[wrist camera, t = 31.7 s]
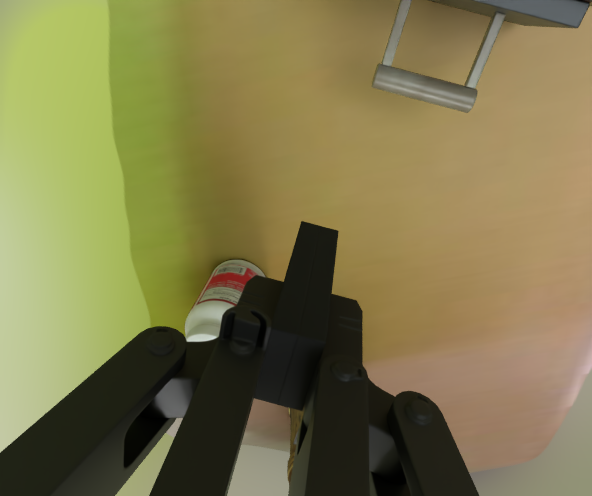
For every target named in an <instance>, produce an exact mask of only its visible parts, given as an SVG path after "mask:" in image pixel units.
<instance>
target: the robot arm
mask: <svg viewBox="0 0 592 496" xmlns="http://www.w3.org/2000/svg"><path fill="white" fill-rule="evenodd" d="M337 239H338V231H337V230H333V229H330V228H326V227H322V226H318V225H314V224H311V223H307V222H303V221H301V225H300V228H299V232H298V235H297V238H296V242H295V245H294V249H293V252H292V256H291V259H290V262H289V266H288V269H287V273H286V276H285V279H284V282H282V281H278V280H274V279H270V278H267V277H263V276H259V275H255V276H254V277H252V278H251V279H250V280H248V281H247V282H246V284H245V287H244V289H243V292H242V294H241V296H240V298H239V301H238V303H237V305H236V306H233V307H231V308H229V309H227V310H226V311H225V312H224V314H223V315H222V320H221V326H220V332H219V337H217V338H215V339H213V340H209V341H201V342H187V340H186V338H185V337H184V335H183V334H182V333H181V332H179V331H178V330H176V329H173V328H170V327H162V326H157V327H152V328H148V329H146V330H144V331H143V332H141V333H139V334H138V335H137V336H136V337H135V338H134V339H132V340H131V341H130V342H129V343H128V344H126V345H125V346H124V347H123V348H122V349H121V350H120V351H119V352H117V353H116V354H115V355H114V356H112V357H111V358H110V359H109V360H108V361H107V362H106V363H104V364H103V365H102V366H101V367H100V368H99V369H97V370H96V371H95V372H94V373H93V374H92V375H90V376H89V377H88V378H87V379H86V380H85V381H84V382H82V383H81V384H80V385H79V386H78V387H76V388H75V389H74V390H73V391H72V392H71V393H69V395H67V396H66V397H65V398H64V399H62V400H61V401H60V402H59V403H58V404H57V405H55V406H54V407H53V408H52V409H51V410H50V411H48V412H47V413H46V414H45V415H44V416H43V417H41V418H40V419H39V420H38V421H37V422H36V423H35V424H33V425H32V426H31V427H30V428H29V429H27V430H26V431H25V432H24V433H23V434H22V435H20V436H19V437H18V438H17V439H16V440H15V441H13V442H12V443H11V444H10V445H9V446H8V447H7V448H5V449H4V450H3V451H2V452H1V453H0V496H115V495H116V494H117V492H118V491H119V490H120V489H121V488H122V486H123V485H124V484H125V483H126V481H127V480H128V479H129V478H130V476H131V475H132V474H133V473H134V471H135V470H136V469H137V468H138V466H139V465H140V464H141V463H142V461H143V460H144V459H145V458H146V456H147V455H148V454H149V453H150V451H151V450H152V449H153V448H154V446H155V445H156V444H157V443H158V441H159V440H160V439H161V438H162V436H163V435H164V434H165V433H166V431H167V430H168V429H169V428H170V426H171V425H172V424H173V423H174V421H175V420H176V418H183V420H182V422H181V424H180V427H179V429H178V431H177V434H176V436H175V438H174V440H173V443H172V445H171V447H170V449H169V452H168V454H167V456H166V459H165V461H164V463H163V465H162V468H161V470H160V472H159V475H158V477H157V479H156V481H155V484H154V486H153V488H152V491H151V493H150V495H149V496H227V493H228V489H229V486H230V482H231V479H232V475H233V471H234V467H235V464H236V461H237V457H238V453H239V450H240V446H241V443H242V439H243V436H244V432H245V428H246V425H247V421H248V418H249V414H250V410H251V406H252V402H253V399H254V398H255V399H259V400H263V401H266V402H270V403H274V404H278V405H281V406H285V407H289V408H292V409H296V410H300V411H302V410H303V408H304V413H303V417H302V420H301V423H300V426H299V428H298V431H297V434H296V437H295V440H294V443H293V444H295V445H296V449H295V456H294V462H293V469H292V475H291V481H290V488H289V494H288V496H479V494H478V492H477V490H476V487H475V485H474V483H473V481H472V479H471V476H470V474H469V472H468V470H467V467H466V465H465V463H464V461H463V459H462V456H461V454H460V452H459V450H458V448H457V445H456V443H455V441H454V439H453V436H452V434H451V432H450V430H449V428H448V425H447V423H446V421H445V419H444V417H443V414H442V413H441V411H440V410H439V408H438V406H437V405H436V404H435V403H434V402H433V401H431V400H430V399H429V398H428V397H426V396H424V395H422V394H420V393H417V392H413V391H405V392H401V393H400V394H398V395H396V397H394V396H393V395H391V394H389V393H387V392H385V391H384V390H382V389H380V388H379V387H377V386H376V385H375V384H374V383H372V382H371V381H370V380H369V378H368V375H367V371H366V370H365V368H364V367H363V365H362V310H361V308H360V306H359V304H358V302H357V301H356V300H353V299H349V298H345V297H342V296H338V295H334V294H331V293H332V284H333V275H334V266H335V257H336V248H337ZM304 405H305V407H304Z"/></svg>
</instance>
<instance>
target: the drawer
mask: <svg viewBox="0 0 592 496" xmlns="http://www.w3.org/2000/svg"><path fill="white" fill-rule="evenodd" d="M411 1H412V0H401V1H400V4H399V7H398V11H397V14H396V17H395V20H394V24H393V27H392V30H391V34H390V37H389V40H388V43H387V47H386V50H385V53H384V57H383V60H382V64H380V63H379V64H378V65H377V68H376V71H375V74H374V78H373V81H372V88H375V89H379V90H383V91H387V92H390V93H394V94H398V95H402V96H405V97H409V98H413V99H417V100H420V101H424V102H428V103H432V104H435V105H439V106H443V107H447V108H450V109H454V110H458V111H462V112H465V113H468V112H469V111H470V110H471V109H472V107H473V105H474V103H475V100H476V97H477V90H476V89H475V88H476V85H477V83H478V80H479V78H480V76H481V73H482V71H483V68H484V66H485V64H486V61H487V59H488V57H489V54H490V52H491V49H492V47H493V45H494V42H495V40H496V37H497V35H498V33H499V30H500V28H501V26H502V23H503V21H504V20H505V21H508V22H512V23H516V24H520V25H524V26H542V27H561V28H578V27H579V25H580V23H581V21H582V19H583V17H584V15H585V13H586V11H587V9H588V7H589V5H590V3H589V2H585V1H581V0H429V1H433V2H437V3H440V4H444V5H448V6H452V7H455V8H459V9H463V10H467V11H471V12H474V13H478V14H482V15H486V16H489V17H492V18H491V21H490V23H489V26H488V28H487V31H486V33H485V36H484V38H483V40H482V43H481V45H480V48H479V50H478V53H477V55H476V58H475V60H474V63H473V65H472V68H471V70H470V73H469V75H468V77H467V80H466V82H465V86H463V85H459V84H455V83H451V82H448V81H444V80H440V79H436V78H432V77H429V76H425V75H421V74H417V73H414V72H410V71H406V70H402V69H399V68H395V67H391V65H392V61H393V58H394V55H395V52H396V49H397V46H398V42H399V39H400V36H401V33H402V30H403V27H404V24H405V20H406V17H407V14H408V11H409V8H410V5H411Z"/></svg>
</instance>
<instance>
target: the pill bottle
mask: <svg viewBox="0 0 592 496" xmlns="http://www.w3.org/2000/svg"><path fill="white" fill-rule="evenodd" d="M255 275H259V276H263V277H265V275H264V274H263V272H262V271H261V270H260V269H259V268H258V267H257V266H255V265H254V264H252V263H250V262H247V261H244V260H229V261H226V262H223V263H222V264H220V265H219V266H217V267H216V268H215V270H214V271H213V273H212V274H211V276H210V278H209V279H208V281H207V283H206V285H205V287H204V288H203V290H202V292H201V294H200V295H199V297H198V299H197V300H196V302H195V304H194V306H193V307H192V309H191V311H190V312H189V315H188V317H187V319H186V323H185V333H186V337H185V338H186V340H187V342H201V341H209V340H213V339H215V338H217V337H219V332H220V326H221V320H222V315H223V314H224V312H225V311H226V310H227V309H229V308H231V307H233V306H236V305H237V303H238V301H239V298H240V296H241V294H242V292H243V289H244V287H245V284H246V282H247V281H248V280H250V279H251V278H252V277H254V276H255Z"/></svg>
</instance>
